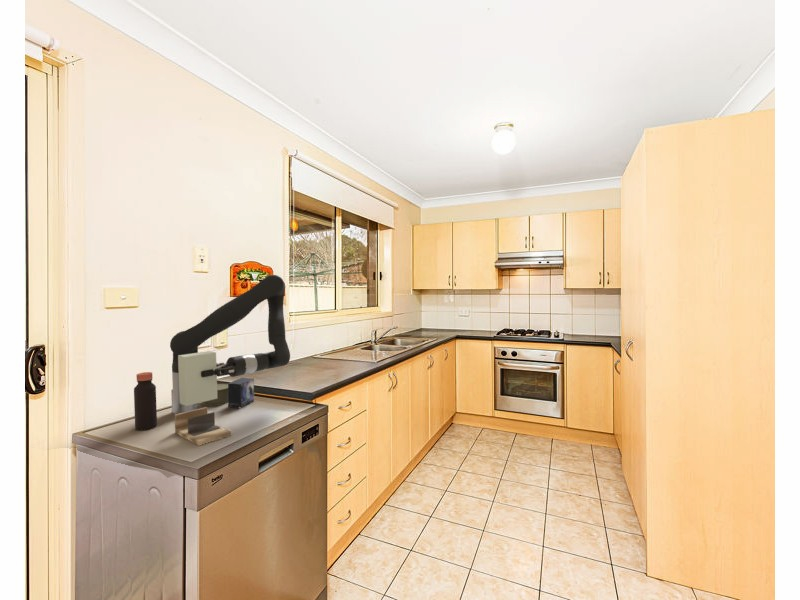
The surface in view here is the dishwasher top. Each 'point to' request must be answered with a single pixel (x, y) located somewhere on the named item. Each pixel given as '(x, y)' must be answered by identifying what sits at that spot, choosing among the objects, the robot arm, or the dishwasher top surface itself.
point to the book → (196, 378)
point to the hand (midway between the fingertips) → (197, 373)
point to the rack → (199, 426)
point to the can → (219, 396)
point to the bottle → (145, 402)
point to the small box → (240, 392)
